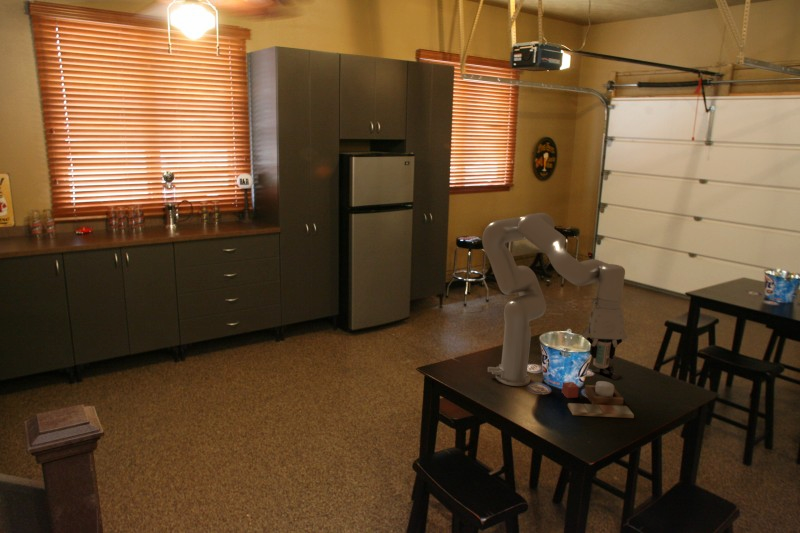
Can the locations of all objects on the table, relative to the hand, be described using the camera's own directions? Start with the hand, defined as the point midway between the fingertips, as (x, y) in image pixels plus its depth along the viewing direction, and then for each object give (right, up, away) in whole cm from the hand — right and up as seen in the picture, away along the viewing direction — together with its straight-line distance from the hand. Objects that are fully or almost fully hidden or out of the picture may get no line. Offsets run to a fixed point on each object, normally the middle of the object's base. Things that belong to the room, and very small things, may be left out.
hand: (601, 356), depth 190 cm
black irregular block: (+14, -13, +36) cm, 41 cm away
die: (-6, -16, +16) cm, 24 cm away
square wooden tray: (+5, -17, +14) cm, 23 cm away
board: (+1, -19, +5) cm, 20 cm away
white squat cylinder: (+5, -17, +14) cm, 22 cm away
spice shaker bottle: (0, -4, +1) cm, 4 cm away
